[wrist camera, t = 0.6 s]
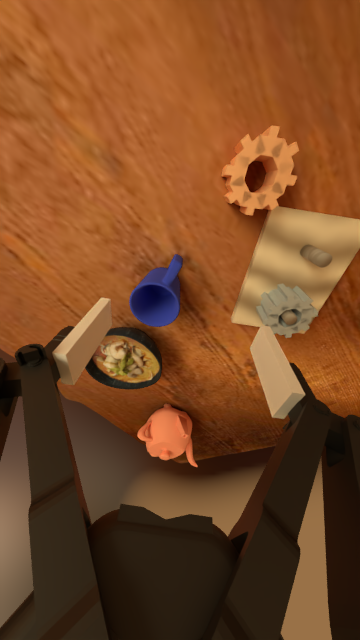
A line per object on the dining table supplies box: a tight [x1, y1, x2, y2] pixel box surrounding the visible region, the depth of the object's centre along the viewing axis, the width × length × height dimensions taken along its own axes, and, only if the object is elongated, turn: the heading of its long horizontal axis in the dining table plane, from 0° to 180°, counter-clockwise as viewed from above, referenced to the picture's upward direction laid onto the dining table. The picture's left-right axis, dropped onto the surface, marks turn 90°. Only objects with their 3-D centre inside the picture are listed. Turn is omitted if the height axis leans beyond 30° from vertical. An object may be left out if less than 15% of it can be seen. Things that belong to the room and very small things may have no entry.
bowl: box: [85, 327, 162, 389], centre depth 44 cm, size 17×17×10 cm
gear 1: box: [221, 125, 299, 216], centre depth 26 cm, size 9×9×5 cm
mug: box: [130, 254, 183, 327], centre depth 34 cm, size 8×12×10 cm
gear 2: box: [256, 284, 318, 338], centre depth 36 cm, size 9×9×5 cm
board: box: [231, 206, 360, 334], centre depth 34 cm, size 22×16×7 cm
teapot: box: [138, 404, 198, 467], centre depth 61 cm, size 16×17×14 cm
